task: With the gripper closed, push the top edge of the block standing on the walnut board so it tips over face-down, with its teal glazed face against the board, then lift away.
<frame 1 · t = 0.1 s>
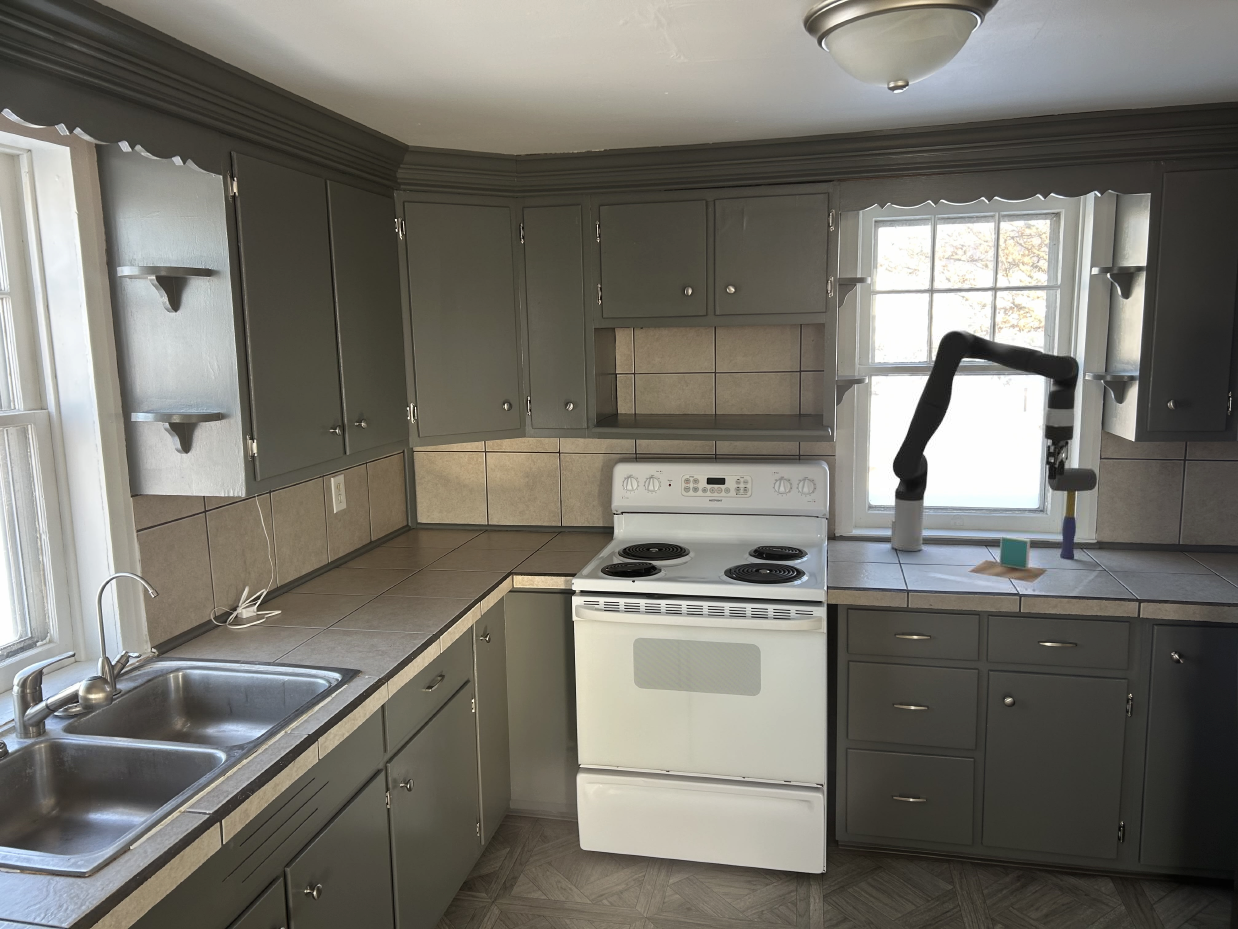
hand: (1056, 477, 256), 29 cm above the worktop, tool pointing down, fingers open, 8 cm apart
board: (1008, 574, 257), on the worktop
rubber mallet: (1066, 561, 270), on the worktop
block: (1013, 566, 261), point 1 cm above the worktop, touching board
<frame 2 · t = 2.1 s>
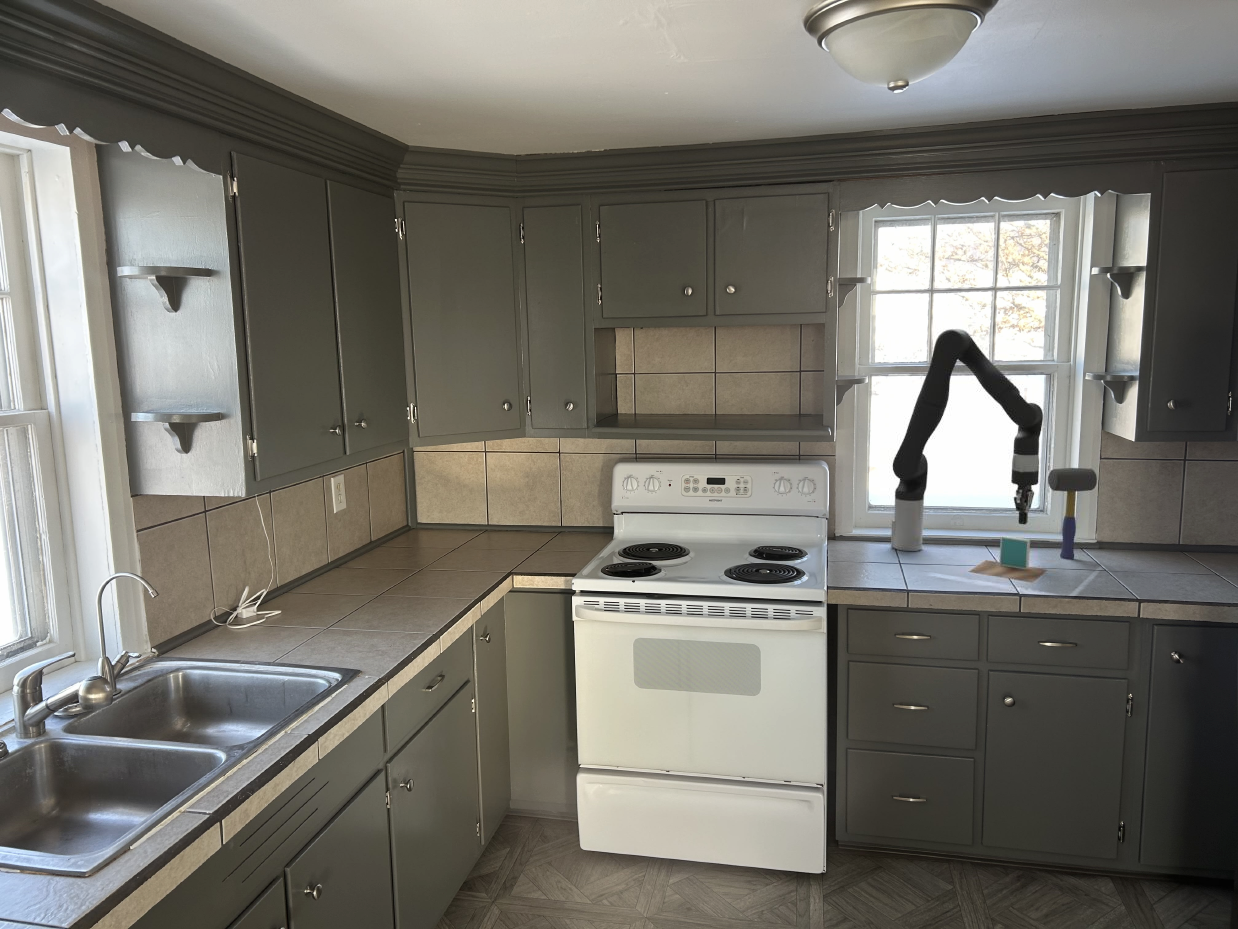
hand: (1022, 523, 264), 13 cm above the worktop, tool pointing down, fingers closed
nothing on the worktop moved.
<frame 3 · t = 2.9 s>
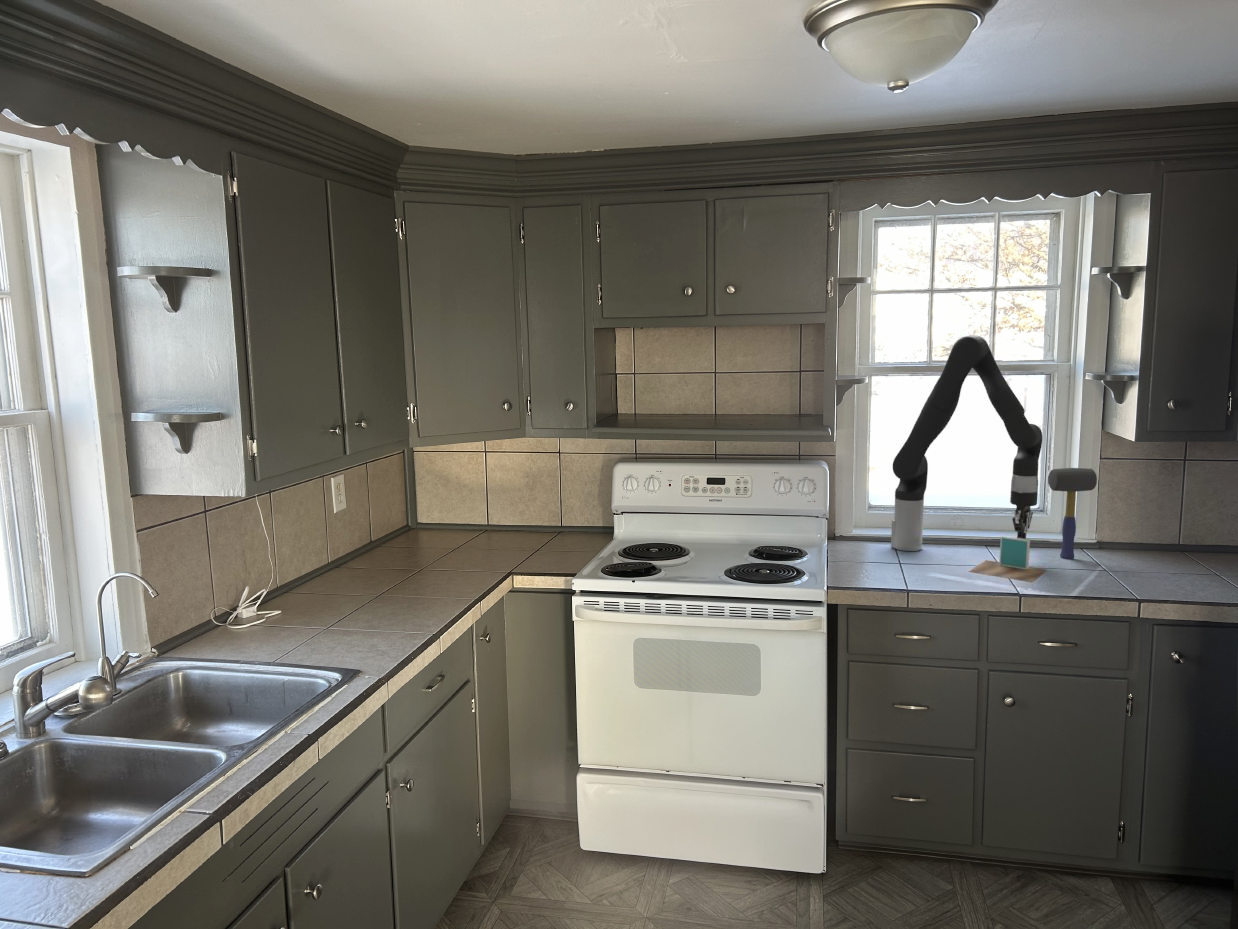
hand: (1021, 543, 265), 7 cm above the worktop, tool pointing down, fingers closed
nothing on the worktop moved.
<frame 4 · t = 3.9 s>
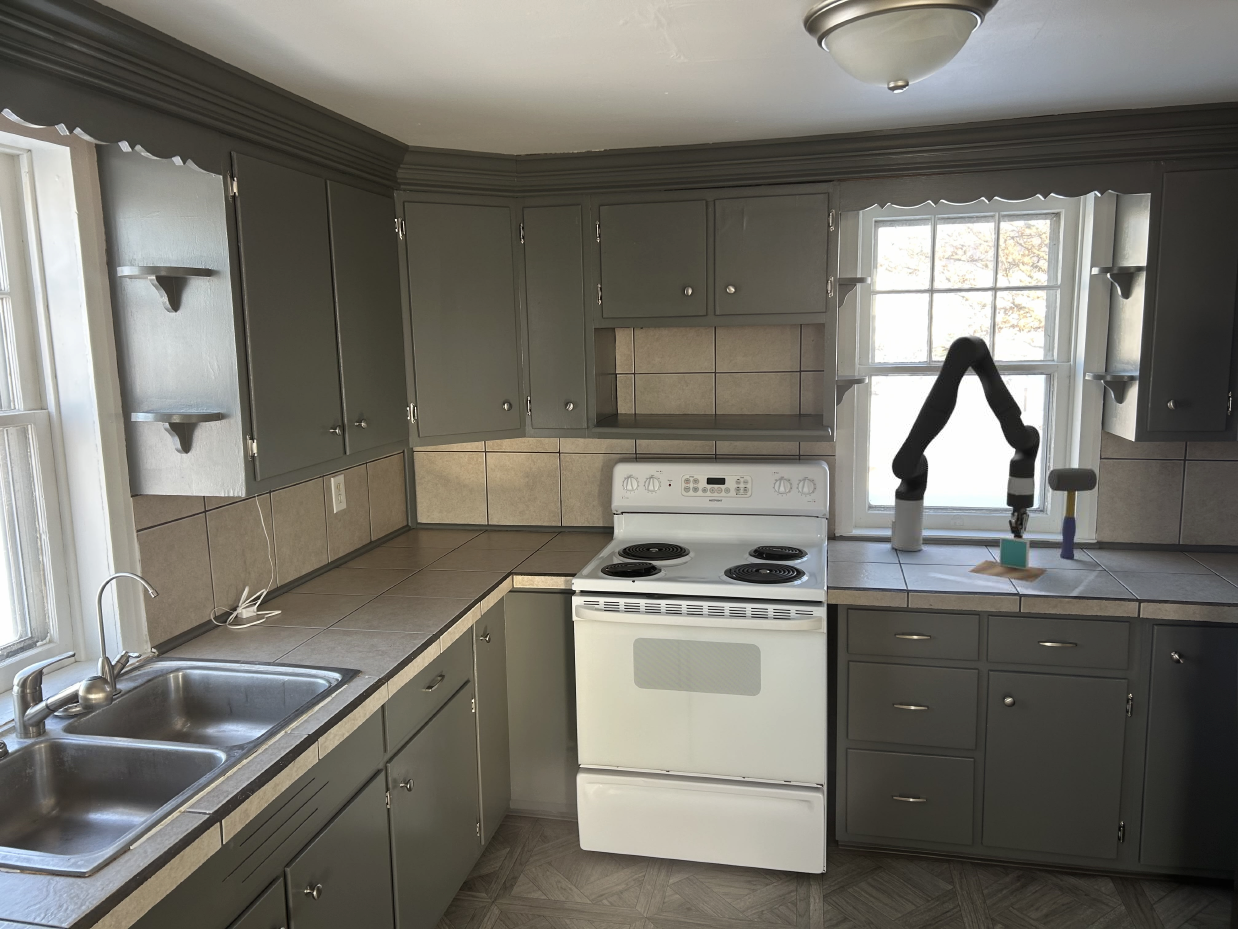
hand: (1017, 546, 262), 7 cm above the worktop, tool pointing down, fingers closed
nothing on the worktop moved.
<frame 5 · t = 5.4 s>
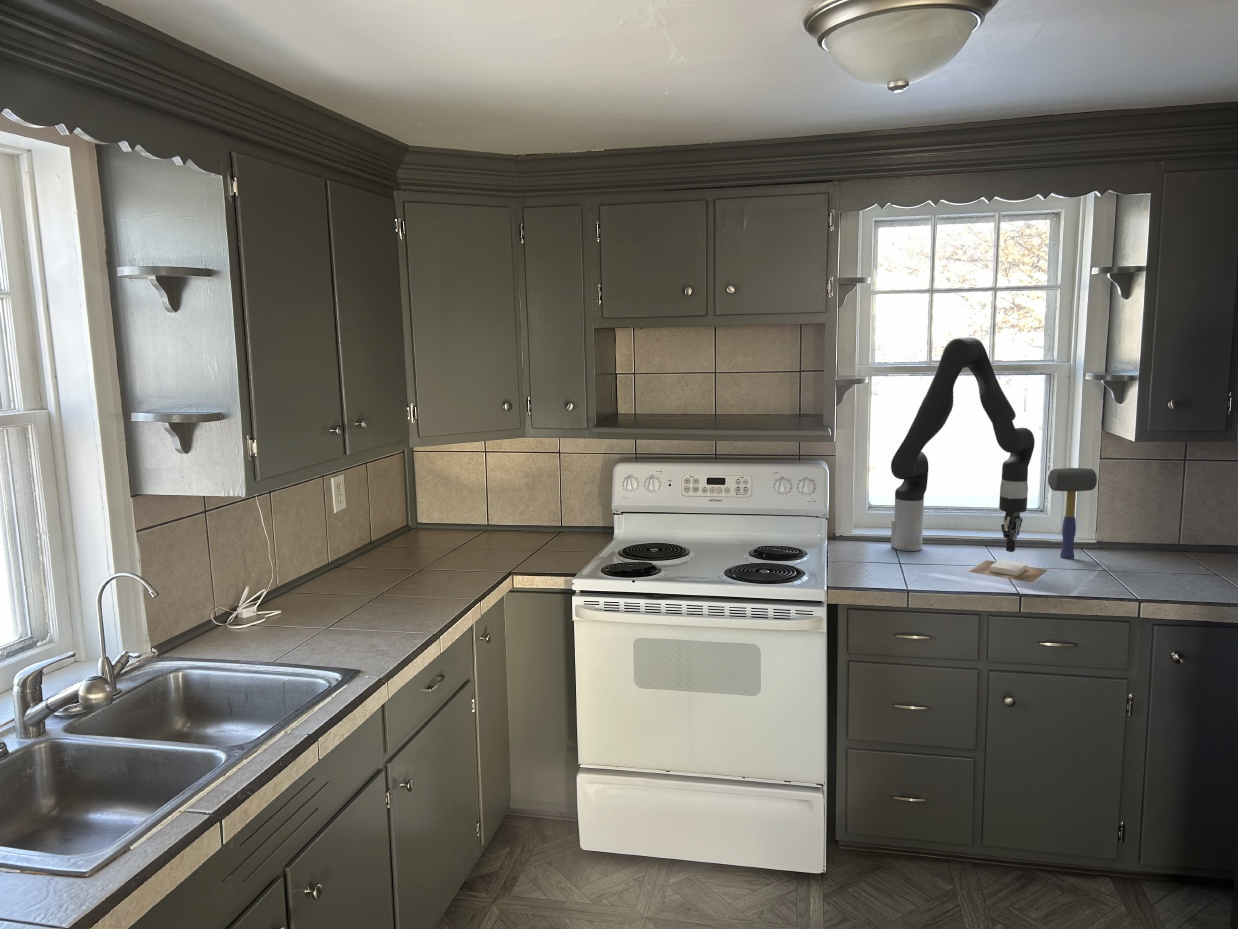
hand: (1010, 551, 257), 7 cm above the worktop, tool pointing down, fingers closed
block: (1013, 564, 260), point 2 cm above the worktop, tilted 90°, touching board
everything else where it was.
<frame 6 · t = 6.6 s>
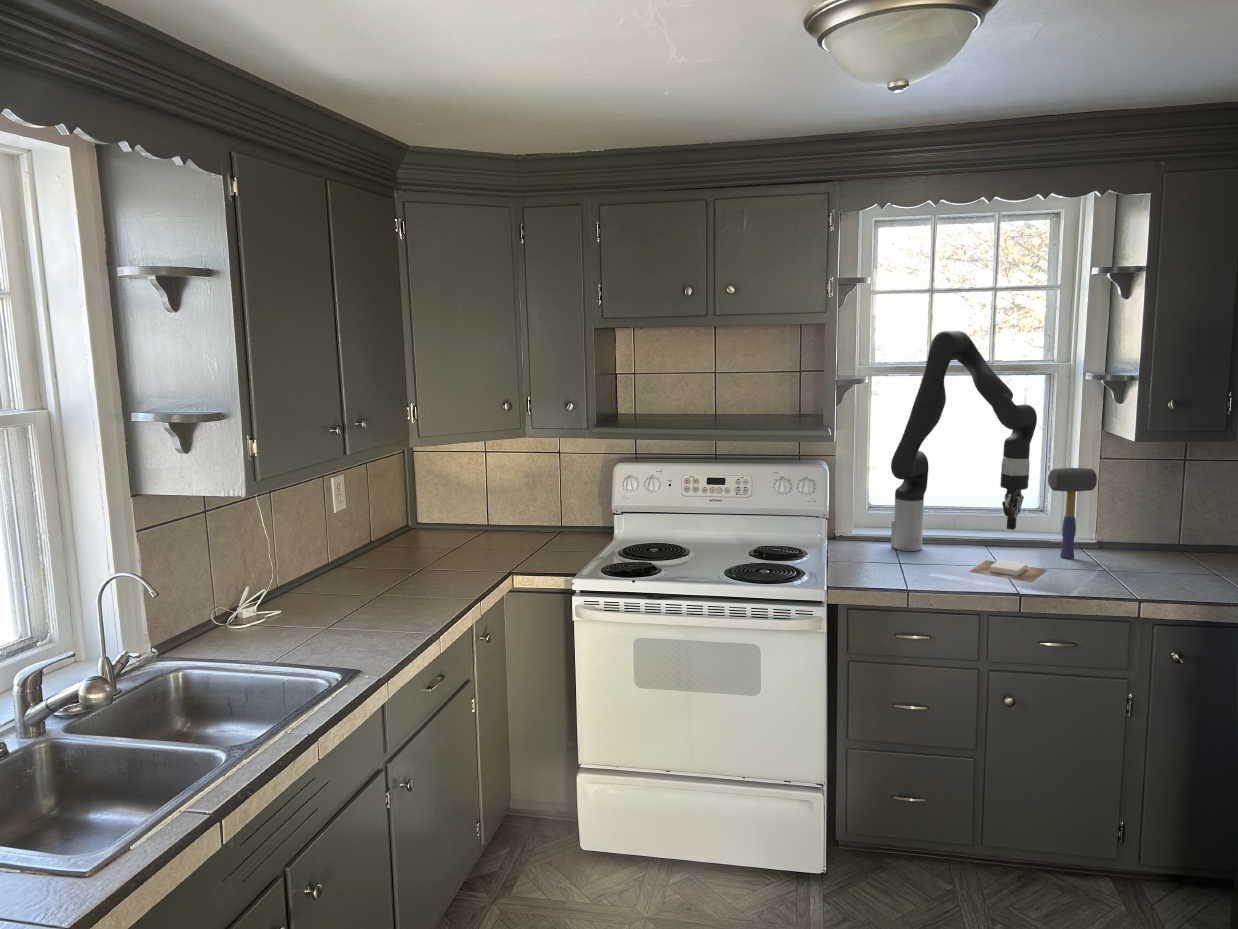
hand: (1011, 528, 256), 14 cm above the worktop, tool pointing down, fingers closed
nothing on the worktop moved.
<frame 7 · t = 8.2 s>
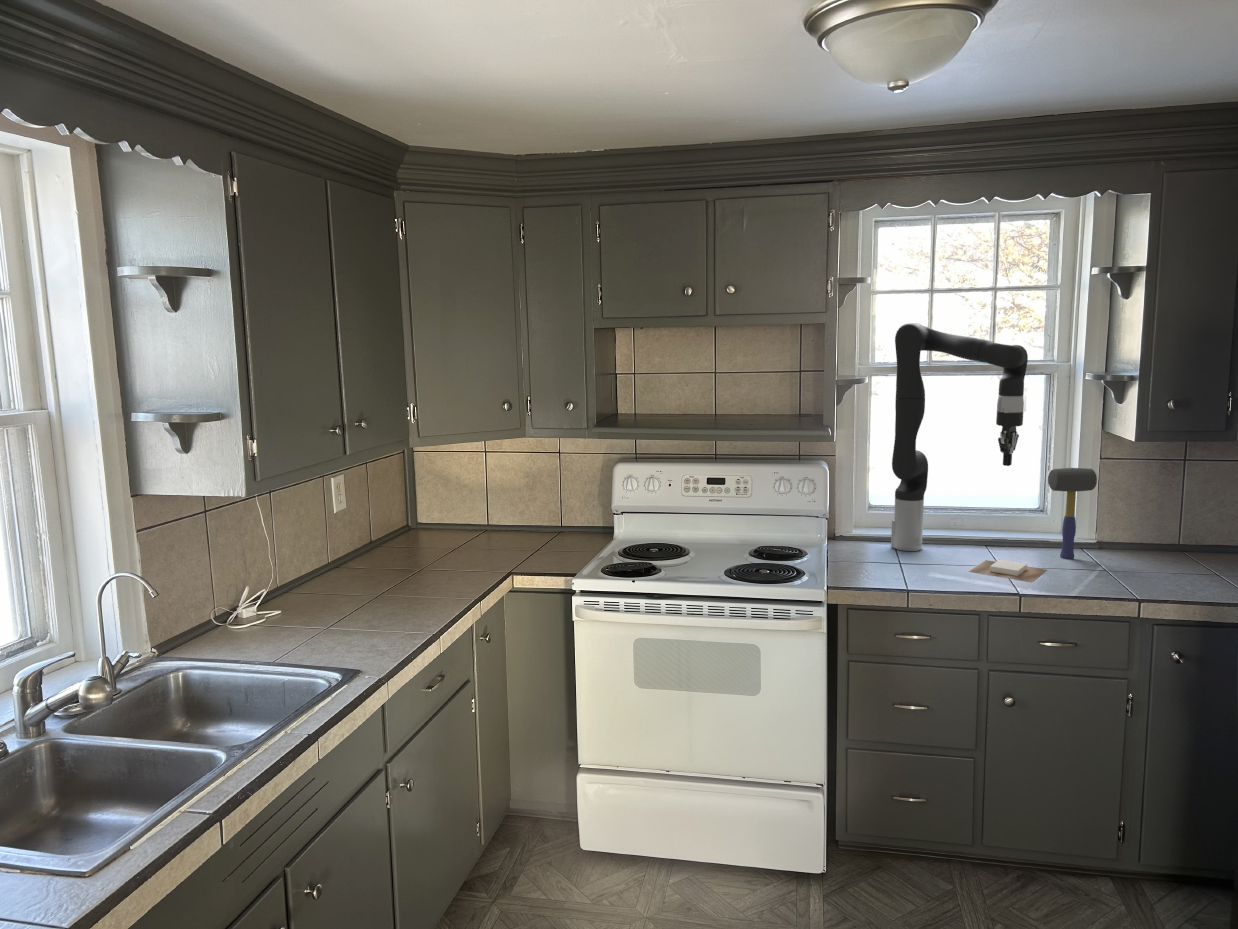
hand: (1007, 465, 267), 31 cm above the worktop, tool pointing down, fingers closed
nothing on the worktop moved.
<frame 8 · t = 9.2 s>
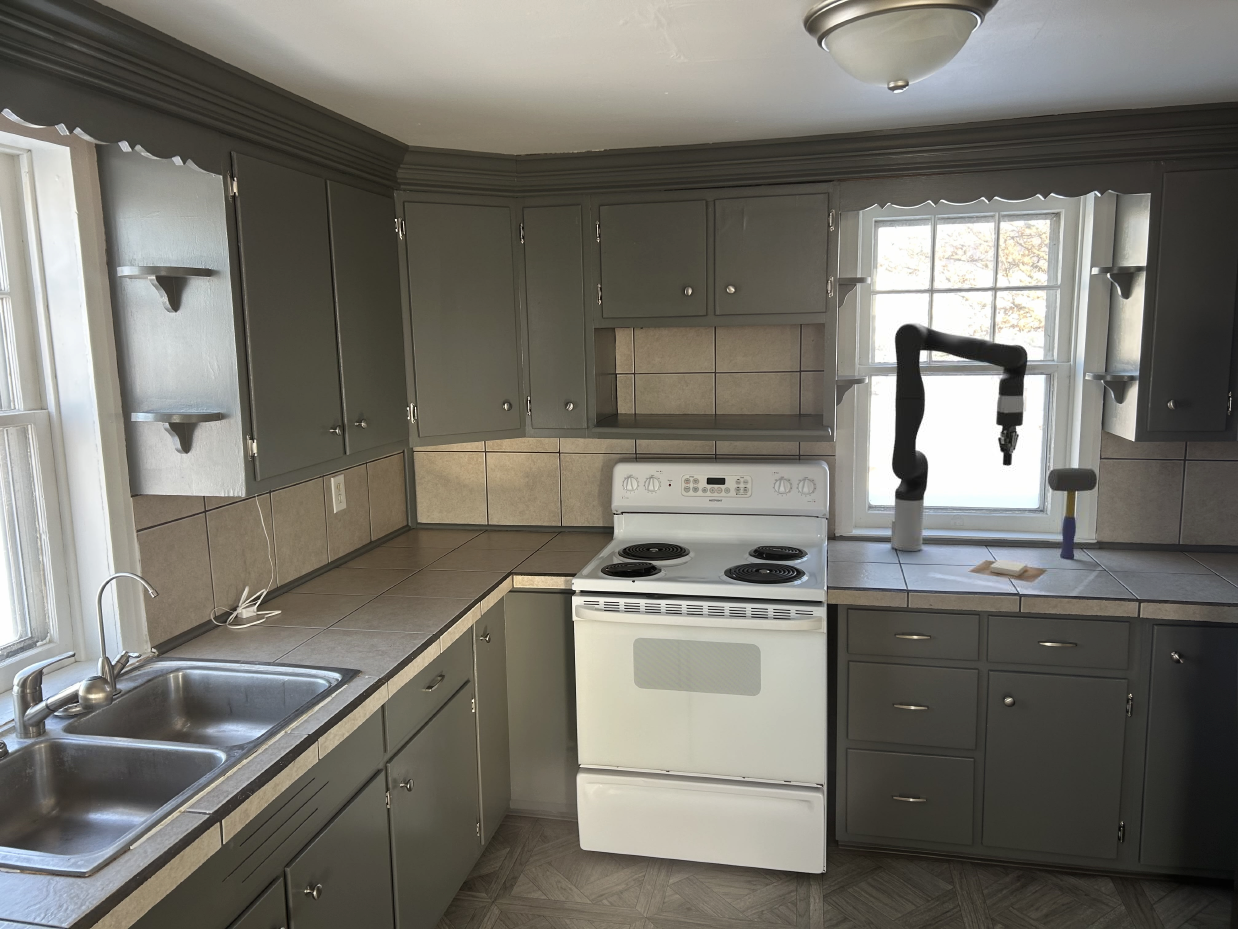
hand: (1007, 465, 267), 31 cm above the worktop, tool pointing down, fingers closed
nothing on the worktop moved.
at the end: block tilted 90°; block inside the target area on the board (0.0 cm from its centre), point 2.1 cm above the board's base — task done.
